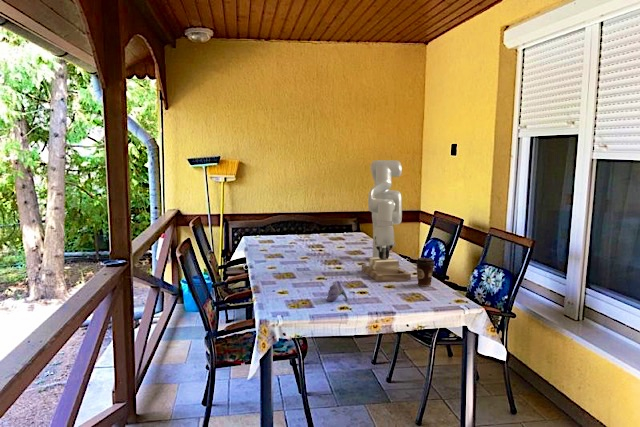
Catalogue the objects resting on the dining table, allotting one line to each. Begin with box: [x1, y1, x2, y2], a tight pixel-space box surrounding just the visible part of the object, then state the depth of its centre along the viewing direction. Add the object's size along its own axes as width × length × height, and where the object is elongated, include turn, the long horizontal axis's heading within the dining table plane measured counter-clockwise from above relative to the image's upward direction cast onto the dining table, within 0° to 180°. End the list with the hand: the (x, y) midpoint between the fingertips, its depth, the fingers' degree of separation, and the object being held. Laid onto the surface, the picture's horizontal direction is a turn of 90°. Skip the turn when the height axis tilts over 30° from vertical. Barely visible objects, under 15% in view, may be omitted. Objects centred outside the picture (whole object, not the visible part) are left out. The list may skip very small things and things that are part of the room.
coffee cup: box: [415, 257, 435, 287], centre depth 235 cm, size 9×8×13 cm
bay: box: [361, 264, 412, 283], centre depth 255 cm, size 26×17×3 cm, turn 14°
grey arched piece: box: [326, 280, 348, 303], centre depth 210 cm, size 9×9×10 cm
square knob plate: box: [368, 248, 400, 275], centre depth 257 cm, size 12×12×13 cm
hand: (383, 258), depth 257 cm, fingers closed on square knob plate, 2 cm apart
